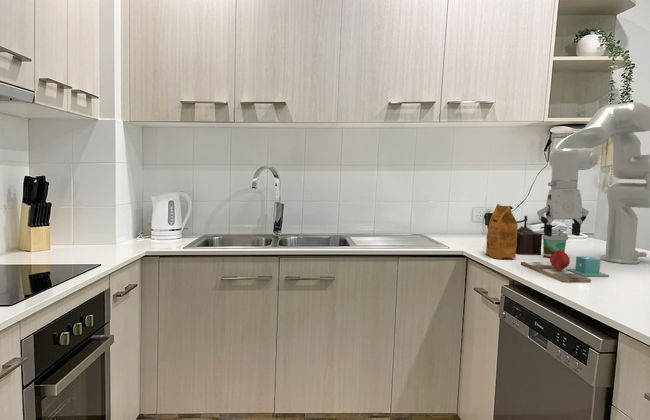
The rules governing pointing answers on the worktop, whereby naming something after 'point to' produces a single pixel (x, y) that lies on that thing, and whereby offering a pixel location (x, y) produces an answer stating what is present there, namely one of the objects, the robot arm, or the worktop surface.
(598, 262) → the die
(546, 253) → the food container
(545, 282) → the worktop surface
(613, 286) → the worktop surface
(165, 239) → the worktop surface
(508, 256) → the coffee package
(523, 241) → the manual coffee grinder
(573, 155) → the robot arm
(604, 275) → the mat
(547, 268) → the board
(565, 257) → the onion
